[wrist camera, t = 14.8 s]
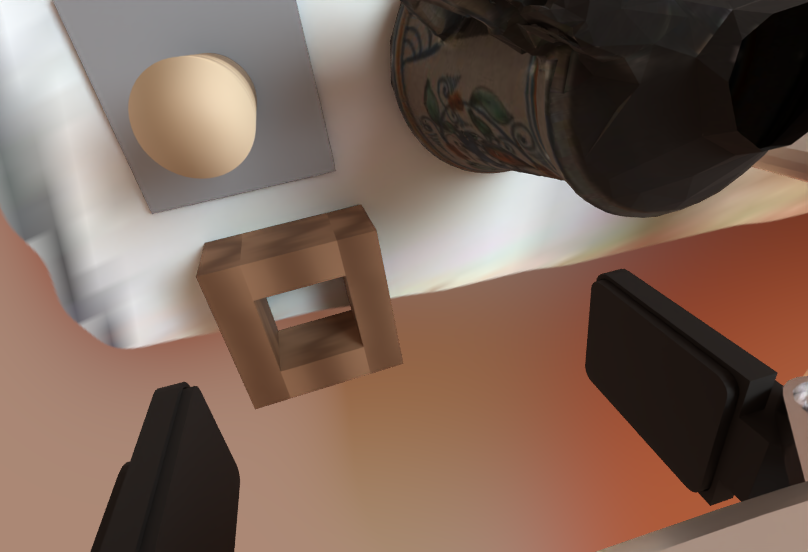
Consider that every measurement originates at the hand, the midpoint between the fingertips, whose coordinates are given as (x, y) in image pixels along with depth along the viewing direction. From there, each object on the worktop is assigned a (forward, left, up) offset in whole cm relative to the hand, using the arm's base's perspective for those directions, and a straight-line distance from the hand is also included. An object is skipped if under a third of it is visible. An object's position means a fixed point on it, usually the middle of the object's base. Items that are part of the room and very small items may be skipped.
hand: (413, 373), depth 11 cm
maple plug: (+5, -4, -28) cm, 29 cm away
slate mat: (+5, -4, -29) cm, 30 cm away
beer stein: (-14, -3, -29) cm, 32 cm away
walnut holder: (+3, +13, -29) cm, 32 cm away
